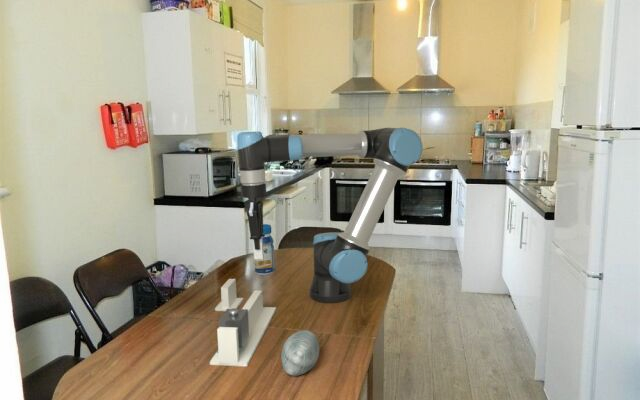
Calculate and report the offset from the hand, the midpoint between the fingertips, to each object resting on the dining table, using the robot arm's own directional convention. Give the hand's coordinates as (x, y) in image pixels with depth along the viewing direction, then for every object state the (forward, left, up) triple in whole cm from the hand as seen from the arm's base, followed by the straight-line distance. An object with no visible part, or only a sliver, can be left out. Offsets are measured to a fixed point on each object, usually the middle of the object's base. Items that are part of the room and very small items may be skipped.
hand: (259, 258), depth 146 cm
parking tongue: (+14, -12, -21) cm, 28 cm away
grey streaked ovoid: (-17, +26, -21) cm, 37 cm away
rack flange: (+2, +8, -21) cm, 22 cm away
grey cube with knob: (+2, +20, -18) cm, 27 cm away
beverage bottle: (+10, -48, -21) cm, 53 cm away
